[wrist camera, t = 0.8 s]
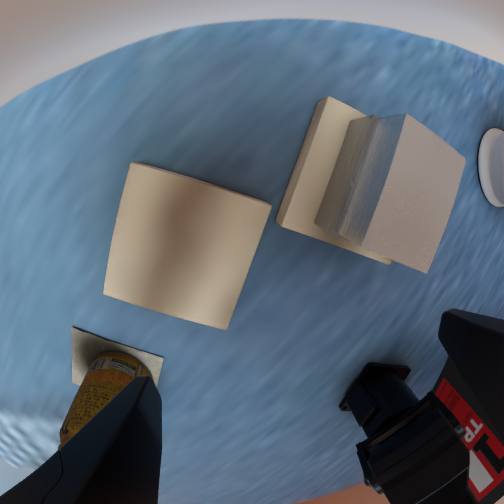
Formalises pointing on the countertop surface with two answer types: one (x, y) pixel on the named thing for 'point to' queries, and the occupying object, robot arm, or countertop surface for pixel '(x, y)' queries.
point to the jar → (492, 166)
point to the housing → (392, 189)
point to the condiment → (102, 376)
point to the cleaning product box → (474, 436)
